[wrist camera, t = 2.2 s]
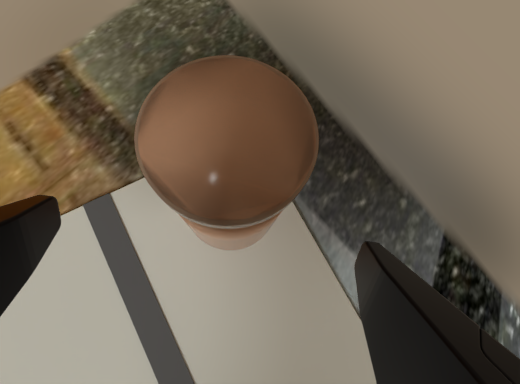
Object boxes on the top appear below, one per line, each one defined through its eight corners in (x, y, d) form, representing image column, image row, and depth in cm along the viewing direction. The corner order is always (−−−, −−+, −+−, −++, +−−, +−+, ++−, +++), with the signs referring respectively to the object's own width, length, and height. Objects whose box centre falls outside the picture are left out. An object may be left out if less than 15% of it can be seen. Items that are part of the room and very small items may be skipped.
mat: (410, 410, 18) (414, 413, 17) (26, 693, 14) (20, 705, 13) (250, 130, 21) (250, 128, 21) (-90, 286, 17) (-97, 287, 17)
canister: (294, 224, 20) (352, 171, 10) (209, 269, 19) (184, 259, 9) (250, 146, 21) (264, 32, 11) (167, 185, 20) (105, 95, 10)
